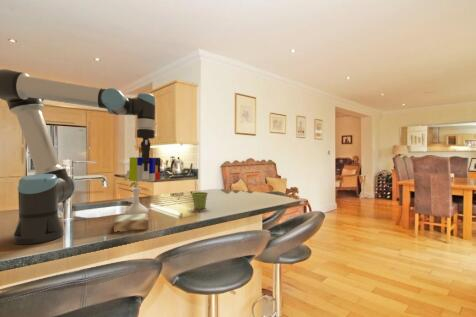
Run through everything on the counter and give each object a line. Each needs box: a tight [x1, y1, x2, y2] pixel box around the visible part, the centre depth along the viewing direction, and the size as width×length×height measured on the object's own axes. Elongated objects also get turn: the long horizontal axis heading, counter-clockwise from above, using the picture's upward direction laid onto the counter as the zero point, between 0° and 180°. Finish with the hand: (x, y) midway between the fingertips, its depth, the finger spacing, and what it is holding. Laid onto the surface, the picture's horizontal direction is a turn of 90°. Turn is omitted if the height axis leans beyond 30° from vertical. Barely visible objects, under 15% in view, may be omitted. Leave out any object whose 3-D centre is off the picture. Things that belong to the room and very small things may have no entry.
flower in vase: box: [123, 170, 149, 215], centre depth 138 cm, size 13×11×25 cm
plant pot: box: [190, 191, 209, 210], centre depth 155 cm, size 9×9×9 cm
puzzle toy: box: [128, 156, 161, 182], centre depth 121 cm, size 10×10×10 cm
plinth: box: [113, 212, 149, 233], centre depth 117 cm, size 13×13×4 cm
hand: (144, 177), depth 121 cm, fingers closed on puzzle toy, 12 cm apart
